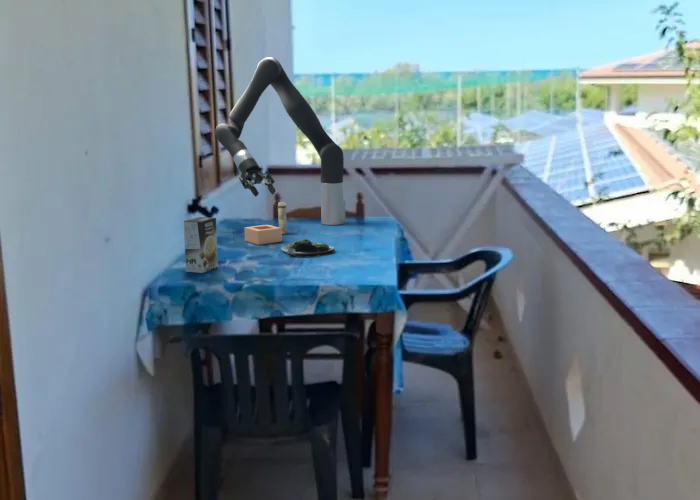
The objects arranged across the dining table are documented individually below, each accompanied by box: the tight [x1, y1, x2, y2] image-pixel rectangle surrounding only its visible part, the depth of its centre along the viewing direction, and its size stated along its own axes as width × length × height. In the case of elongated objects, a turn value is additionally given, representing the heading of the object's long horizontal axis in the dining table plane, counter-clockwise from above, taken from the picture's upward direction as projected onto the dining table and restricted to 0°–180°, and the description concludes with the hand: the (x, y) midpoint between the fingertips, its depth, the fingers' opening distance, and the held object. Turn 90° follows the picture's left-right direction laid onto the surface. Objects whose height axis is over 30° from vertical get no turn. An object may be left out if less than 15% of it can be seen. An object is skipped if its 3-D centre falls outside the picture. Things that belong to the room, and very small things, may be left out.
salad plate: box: [281, 238, 335, 257], centre depth 274 cm, size 19×18×5 cm
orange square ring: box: [244, 224, 283, 246], centre depth 293 cm, size 10×10×5 cm
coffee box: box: [183, 216, 219, 274], centre depth 246 cm, size 9×6×16 cm
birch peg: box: [277, 201, 288, 235], centre depth 308 cm, size 3×3×12 cm
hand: (265, 194), depth 312 cm, fingers open, 8 cm apart
